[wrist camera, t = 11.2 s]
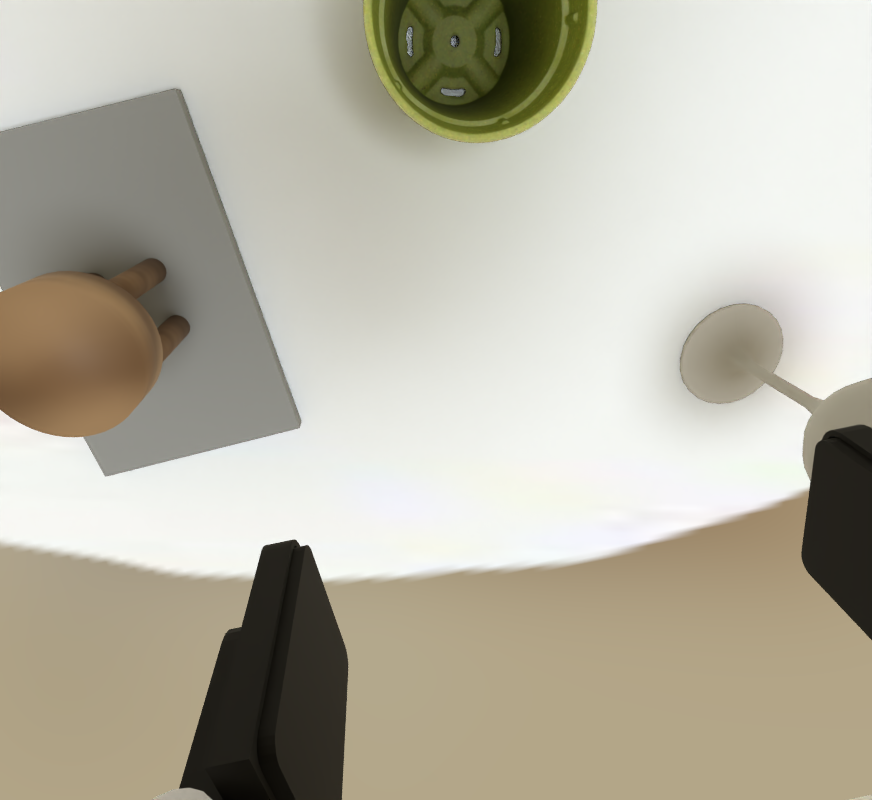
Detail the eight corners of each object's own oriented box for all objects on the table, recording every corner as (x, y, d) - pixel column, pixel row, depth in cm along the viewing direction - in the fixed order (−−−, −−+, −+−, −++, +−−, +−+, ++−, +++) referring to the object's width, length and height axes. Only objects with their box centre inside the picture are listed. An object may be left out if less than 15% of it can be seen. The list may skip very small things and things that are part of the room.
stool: (48, 261, 32) (-69, 307, 24) (171, 231, 33) (99, 265, 24) (105, 375, 35) (20, 453, 27) (218, 347, 35) (170, 415, 27)
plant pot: (536, 138, 34) (588, 139, 26) (371, 144, 33) (372, 146, 25) (544, -64, 30) (608, -137, 22) (356, -64, 29) (352, -139, 21)
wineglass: (676, 413, 42) (933, 644, 23) (677, 312, 39) (977, 481, 20) (778, 394, 42) (1117, 605, 23) (788, 290, 39) (1189, 438, 20)
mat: (-62, 150, 31) (-75, 150, 30) (180, 90, 31) (174, 88, 30) (111, 468, 39) (105, 476, 38) (301, 421, 39) (299, 427, 38)
